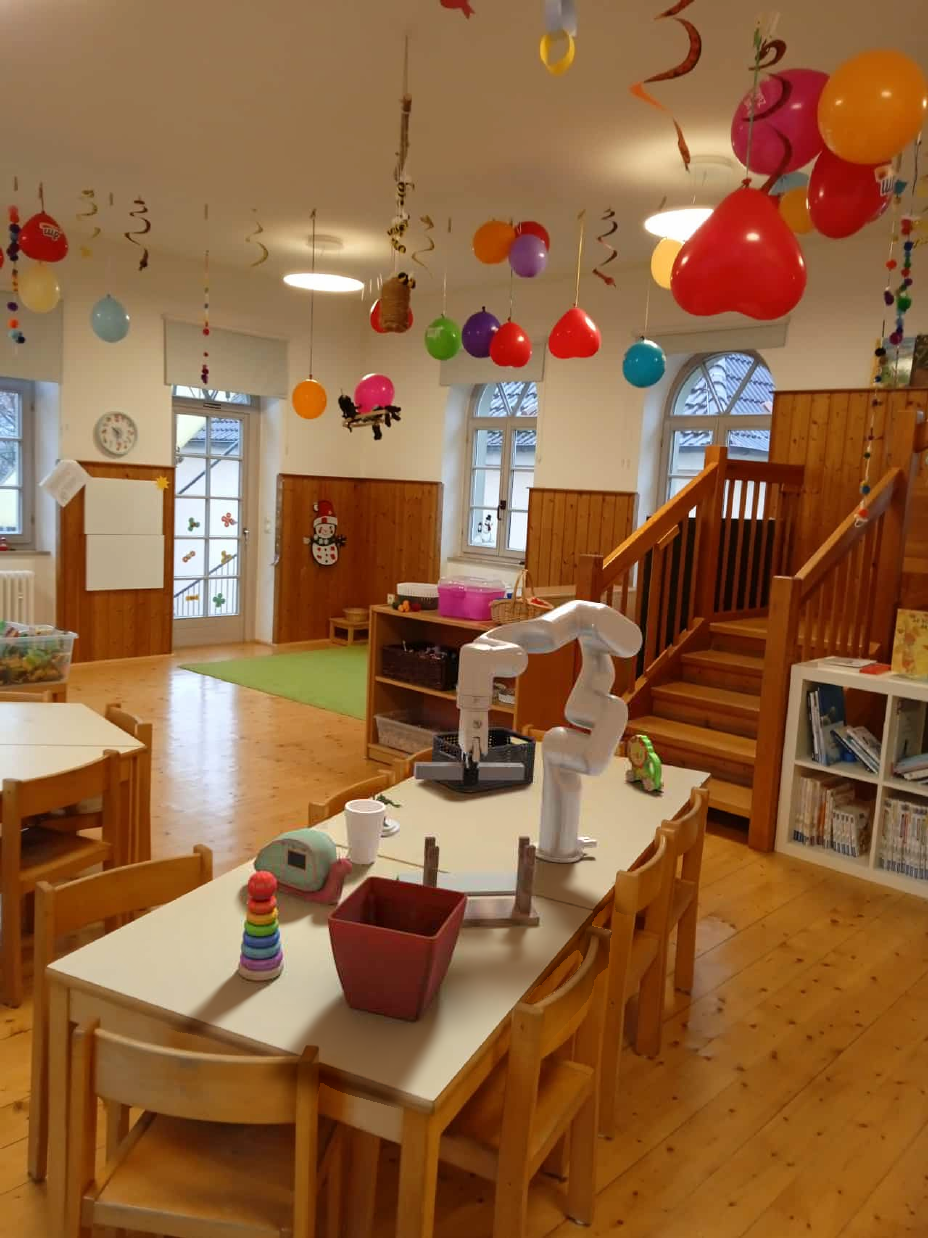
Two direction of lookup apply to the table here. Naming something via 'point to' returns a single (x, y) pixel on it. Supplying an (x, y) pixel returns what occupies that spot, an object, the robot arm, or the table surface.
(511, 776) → the rail
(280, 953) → the stacking toy
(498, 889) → the mat
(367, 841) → the foam cup
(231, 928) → the table surface
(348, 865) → the toy snail
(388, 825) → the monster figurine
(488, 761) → the storage bin
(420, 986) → the plant pot
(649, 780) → the toy lion
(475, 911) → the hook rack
